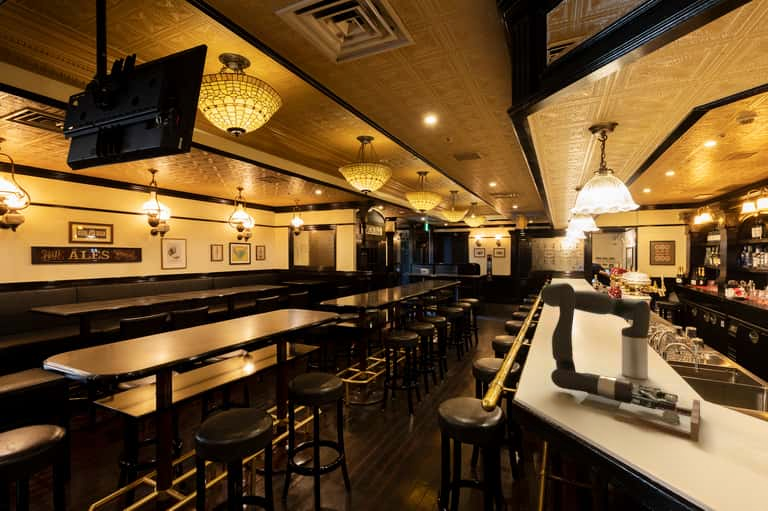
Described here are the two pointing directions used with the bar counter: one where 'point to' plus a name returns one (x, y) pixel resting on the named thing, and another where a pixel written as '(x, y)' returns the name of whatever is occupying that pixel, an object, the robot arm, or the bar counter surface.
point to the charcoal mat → (601, 403)
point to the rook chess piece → (669, 414)
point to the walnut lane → (667, 429)
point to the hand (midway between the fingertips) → (676, 402)
